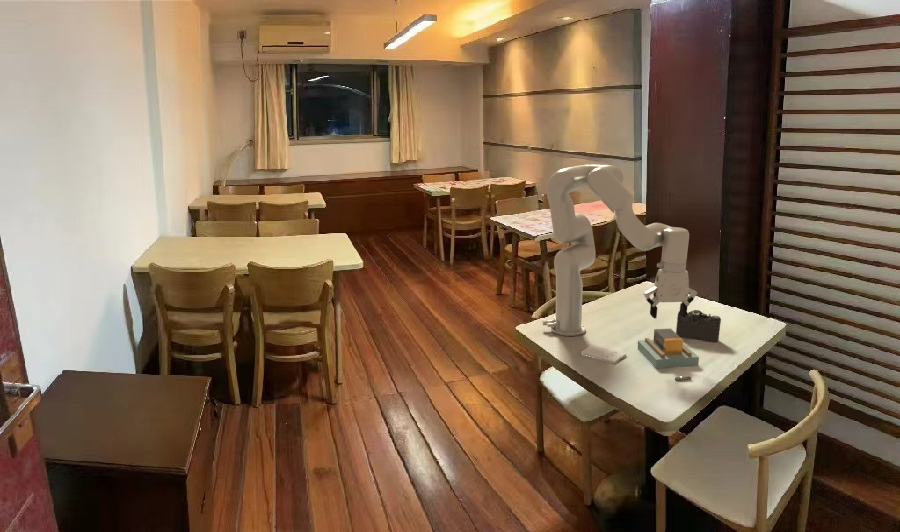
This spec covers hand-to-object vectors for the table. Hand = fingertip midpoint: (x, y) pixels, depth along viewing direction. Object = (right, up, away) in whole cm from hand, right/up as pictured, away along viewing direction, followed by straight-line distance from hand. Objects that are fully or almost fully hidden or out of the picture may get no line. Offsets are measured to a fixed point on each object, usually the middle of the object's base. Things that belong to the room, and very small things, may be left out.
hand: (667, 316), depth 208 cm
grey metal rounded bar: (0, -18, -13) cm, 23 cm away
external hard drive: (-20, -14, +6) cm, 25 cm away
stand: (+1, -14, +3) cm, 14 cm away
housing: (+1, -11, +3) cm, 11 cm away
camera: (+18, -9, +21) cm, 29 cm away
